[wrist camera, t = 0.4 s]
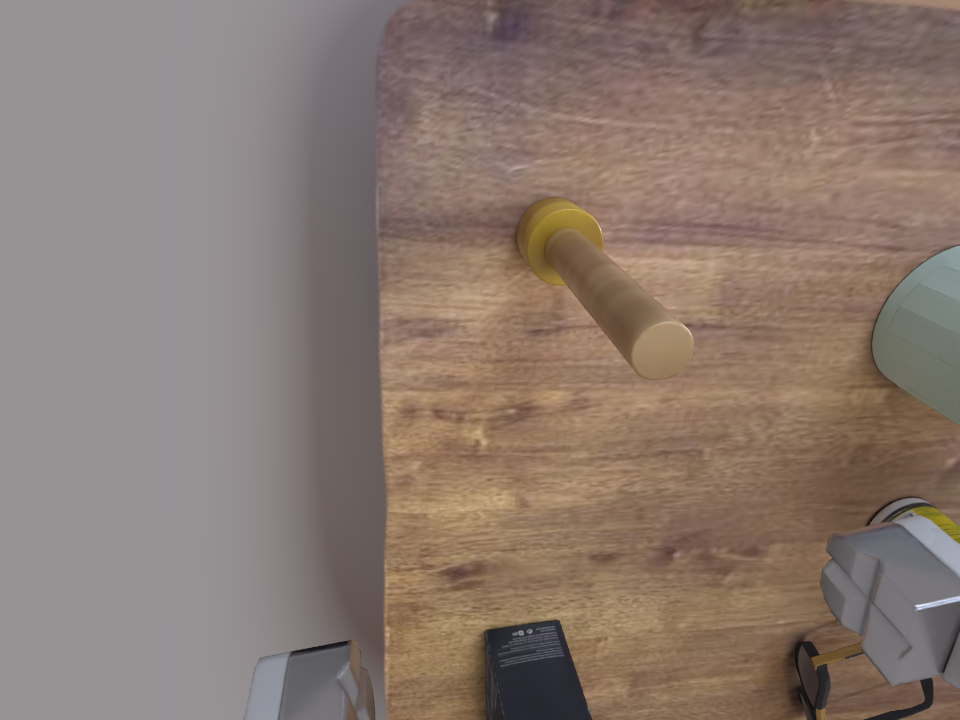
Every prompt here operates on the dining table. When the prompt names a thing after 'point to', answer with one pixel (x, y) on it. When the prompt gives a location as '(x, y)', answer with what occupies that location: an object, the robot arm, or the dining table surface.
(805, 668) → the sunglasses
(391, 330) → the dining table surface
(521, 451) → the dining table surface
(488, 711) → the small box
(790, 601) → the dining table surface
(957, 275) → the mint green tube
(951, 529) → the pill bottle
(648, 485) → the dining table surface
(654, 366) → the beige handle with collar
